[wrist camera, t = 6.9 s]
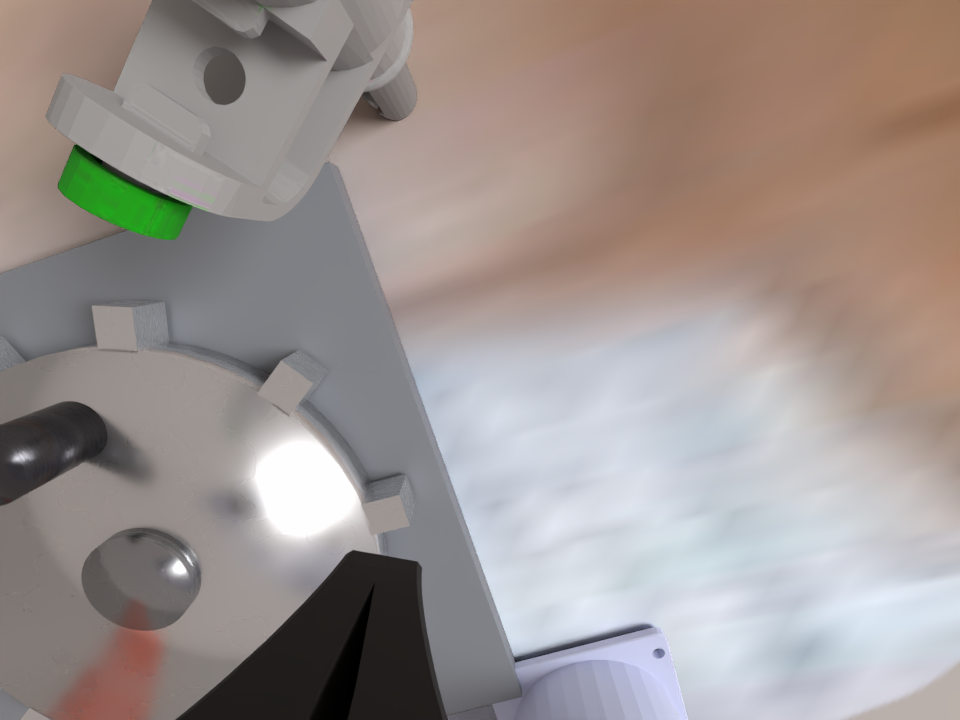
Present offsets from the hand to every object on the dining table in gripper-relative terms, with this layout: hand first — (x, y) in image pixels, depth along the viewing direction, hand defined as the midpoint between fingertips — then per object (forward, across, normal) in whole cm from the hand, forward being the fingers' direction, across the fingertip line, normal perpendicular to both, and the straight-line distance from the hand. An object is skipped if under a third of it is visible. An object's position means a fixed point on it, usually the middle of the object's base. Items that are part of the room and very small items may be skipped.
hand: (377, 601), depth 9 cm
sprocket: (+8, +8, +6) cm, 13 cm away
